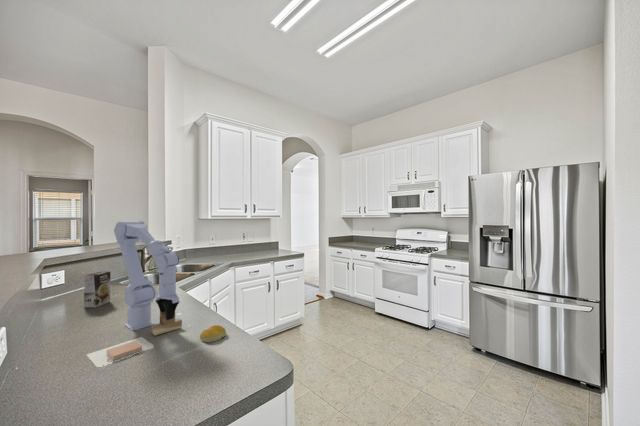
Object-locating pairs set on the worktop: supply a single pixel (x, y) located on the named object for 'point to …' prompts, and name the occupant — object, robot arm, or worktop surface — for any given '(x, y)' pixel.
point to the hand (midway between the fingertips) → (167, 317)
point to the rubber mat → (101, 357)
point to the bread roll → (213, 333)
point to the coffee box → (97, 289)
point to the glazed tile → (124, 350)
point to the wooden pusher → (166, 324)
